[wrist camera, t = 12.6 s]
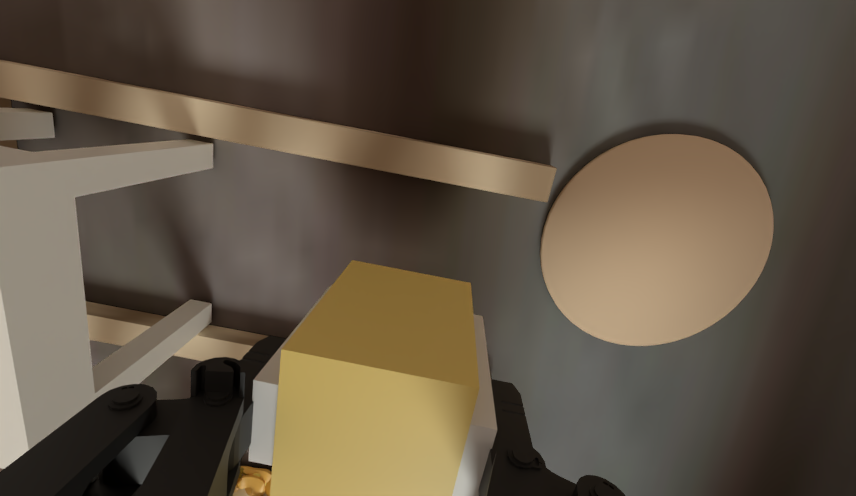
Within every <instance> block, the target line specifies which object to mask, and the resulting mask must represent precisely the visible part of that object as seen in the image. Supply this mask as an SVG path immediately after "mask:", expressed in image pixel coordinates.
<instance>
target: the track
mask: <svg viewBox="0 0 856 496" xmlns="http://www.w3.org/2000/svg"><path fill="white" fill-rule="evenodd" d="M11 100H16V101H22V102H27V103H32V104H37V105H43V106H48V107H53V108H58V109H63V110H69V111H74V112H79V113H84V114H89V115H95V116H100V117H105V118H110V119H115V120H121V121H126V122H131V123H136V124H141V125H147V126H152V127H157V128H162V129H167V130H173V131H178V132H183V133H188V134H194V135H199V136H204V137H209V138H214V139H220V140H225V141H230V142H235V143H240V144H246V145H251V146H256V147H261V148H266V149H272V150H277V151H282V152H287V153H292V154H298V155H303V156H308V157H313V158H318V159H324V160H329V161H334V162H339V163H345V164H350V165H355V166H360V167H365V168H371V169H376V170H381V171H386V172H391V173H397V174H402V175H407V176H412V177H417V178H423V179H428V180H433V181H438V182H443V183H449V184H454V185H459V186H464V187H470V188H475V189H480V190H485V191H490V192H496V193H501V194H506V195H511V196H516V197H522V198H527V199H532V200H537V201H542V202H547V201H548V198H549V194H550V191H551V187H552V184H553V180H554V177H555V173H556V169H557V168H555V167H553V166H551V165H547V164H541V163H536V162H531V161H526V160H521V159H515V158H510V157H505V156H500V155H495V154H489V153H484V152H479V151H474V150H469V149H463V148H458V147H453V146H448V145H443V144H437V143H432V142H427V141H422V140H417V139H411V138H406V137H401V136H396V135H391V134H385V133H380V132H375V131H370V130H365V129H359V128H354V127H349V126H344V125H339V124H333V123H328V122H323V121H318V120H313V119H307V118H302V117H297V116H292V115H287V114H281V113H276V112H271V111H266V110H261V109H255V108H250V107H245V106H240V105H235V104H229V103H224V102H219V101H214V100H209V99H203V98H198V97H193V96H188V95H183V94H177V93H172V92H167V91H162V90H157V89H151V88H146V87H141V86H136V85H131V84H125V83H120V82H115V81H110V80H105V79H99V78H94V77H89V76H84V75H79V74H73V73H68V72H63V71H58V70H53V69H47V68H42V67H37V66H32V65H27V64H21V63H16V62H11V61H6V60H1V59H0V108H12V106H11ZM0 146H4V147H9V148H14V149H18V148H17V141H16V140H3V141H0ZM86 311H87V321H88V331H89V340H95V341H100V342H105V343H110V344H116V345H121V346H124V345H126V344H127V343H129V342H130V341H131V340H133V339H134V338H136V337H137V336H139V335H140V334H141V333H143V332H144V331H146V330H147V329H149V328H150V327H152V326H153V325H154V324H156V323H157V322H159V321H160V320H162V319H163V318H164V317H166V316H161V315H156V314H151V313H145V312H140V311H135V310H130V309H124V308H119V307H114V306H109V305H103V304H98V303H93V302H88V301H86ZM266 337H268V336H266V335H261V334H256V333H250V332H245V331H240V330H235V329H229V328H224V327H219V326H214V325H208V326H206V327H205V328H204V329H203V330H202V331H200V332H199V333H198V334H197V335H196V336H195V337H193V338H192V339H191V340H190V341H189V342H188V343H186V344H185V345H184V346H183V347H182V348H180V349H179V350H178V351H177V352H176V353H175V354H173V356H179V357H184V358H189V359H194V360H200V361H205V360H208V359H212V358H216V357H229V358H235V359H237V360H239V361H240V360H242V357H243V356H244V355H245V354H246V353H247V352H249V350H250V349H251V348H252V347H253V346H254V345H255V344H256V342H258V341H260V340H262V339H264V338H266ZM491 379H492V378H491Z"/></svg>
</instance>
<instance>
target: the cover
mask: <svg viewBox="0 0 856 496" xmlns="http://www.w3.org/2000/svg"><path fill="white" fill-rule="evenodd" d="M42 138H55V132H54V123H53V115H52V113H51V112H45V111H40V110H35V109H30V108H0V141H3V140H22V139H42ZM211 168H213V144H212V143H207V142H202V141H196V140H191V139H184V140H172V141H160V142H148V143H135V144H123V145H111V146H99V147H87V148H75V149H62V150H50V151H38V152H30V151H25V150H20V149H14V148H9V147H4V146H0V468H3V469H5V468H6V467H7V466H9V465H10V464H11V463H13V462H14V461H15V460H17V459H18V458H19V457H20V456H22V455H23V454H24V453H26V452H27V451H28V450H30V449H31V448H32V447H34V446H35V445H36V444H37V443H39V442H40V441H41V440H43V439H44V438H45V437H47V436H48V435H49V434H51V433H52V432H53V431H54V430H56V429H57V428H58V427H60V426H61V425H62V424H64V423H65V422H66V421H68V420H69V419H70V418H72V417H73V416H74V415H75V414H77V413H78V412H79V411H81V410H82V409H83V408H85V407H86V406H87V405H89V404H90V403H91V402H92V401H94V400H95V399H96V398H98V397H99V396H100V395H102V394H104V393H106V392H107V391H109V390H111V389H114V388H117V387H120V386H123V385H130V384H139V383H141V382H142V381H143V380H144V379H145V378H146V377H148V376H149V375H150V374H151V373H152V372H153V371H155V370H156V369H157V368H158V367H159V366H161V365H162V364H163V363H164V362H165V361H166V360H168V359H169V358H170V357H171V356H172V355H173V354H175V353H176V352H177V351H178V350H179V349H180V348H182V347H183V346H184V345H185V344H186V343H188V342H189V341H190V340H191V339H192V338H193V337H195V336H196V335H197V334H198V333H199V332H200V331H202V330H203V329H204V328H205V327H206V326H208V325H209V324H210V323H211V319H212V303H207V302H202V301H197V300H191V299H190V300H189V301H187V302H186V303H185V304H183V305H182V306H180V307H179V308H177V309H176V310H175V311H173V312H172V313H170V314H169V315H167V316H166V317H164V318H163V319H162V320H160V321H159V322H157V323H156V324H154V325H153V326H152V327H150V328H149V329H147V330H146V331H144V332H143V333H141V334H140V335H139V336H137V337H136V338H134V339H133V340H131V341H130V342H129V343H127V344H126V345H124V346H123V347H121V348H120V349H118V350H117V351H116V352H114V353H113V354H111V355H110V356H108V357H107V358H106V359H104V360H103V361H101V362H100V363H98V364H97V365H96V366H94V367H93V368H92V360H91V350H90V341H89V331H88V321H87V311H86V301H85V291H84V282H83V272H82V262H81V252H80V242H79V233H78V223H77V213H76V203H75V197H79V196H84V195H88V194H93V193H98V192H103V191H107V190H112V189H117V188H121V187H126V186H131V185H136V184H140V183H145V182H150V181H155V180H159V179H164V178H169V177H173V176H178V175H183V174H188V173H192V172H197V171H202V170H206V169H211Z"/></svg>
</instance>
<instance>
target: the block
mask: <svg viewBox="0 0 856 496" xmlns="http://www.w3.org/2000/svg"><path fill="white" fill-rule="evenodd" d="M478 392H479V376H478V364H477V352H476V340H475V328H474V316H473V304H472V292H471V283H468V282H463V281H458V280H452V279H447V278H442V277H437V276H432V275H427V274H421V273H416V272H411V271H406V270H401V269H396V268H390V267H385V266H380V265H375V264H370V263H365V262H359V261H354V260H352V261H351V263H350V264H349V265H348V266H347V268H346V269H345V270H344V271H343V273H342V274H341V275H340V276H339V278H338V279H337V280H336V281H335V283H334V284H333V285H332V286H331V288H330V289H329V290H328V291H327V293H326V294H325V295H324V296H323V298H322V299H321V300H320V301H319V303H318V304H317V305H316V306H315V308H314V309H313V310H312V311H311V313H310V314H309V315H308V316H307V318H306V319H305V320H304V321H303V323H302V324H301V325H300V326H299V328H298V329H297V330H296V331H295V333H294V334H293V335H292V336H291V338H290V339H289V340H288V341H287V343H286V344H285V345H284V346H283V348H282V349H281V358H280V371H279V384H278V397H277V410H276V423H275V436H274V449H273V462H272V475H271V488H270V496H452V494H453V490H454V486H455V482H456V479H457V475H458V471H459V467H460V463H461V459H462V455H463V451H464V447H465V443H466V439H467V435H468V432H469V428H470V424H471V420H472V416H473V412H474V408H475V404H476V400H477V396H478Z"/></svg>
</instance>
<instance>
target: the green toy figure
mask: <svg viewBox="0 0 856 496" xmlns="http://www.w3.org/2000/svg"><path fill="white" fill-rule="evenodd" d="M271 475H272V472H271V471H270V470H268V469H262V468H253V467H250V466H241V467H240V474H239V477H238V480H237V484H236V487H235V490H234V493H233V496H270V488H271Z"/></svg>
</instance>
